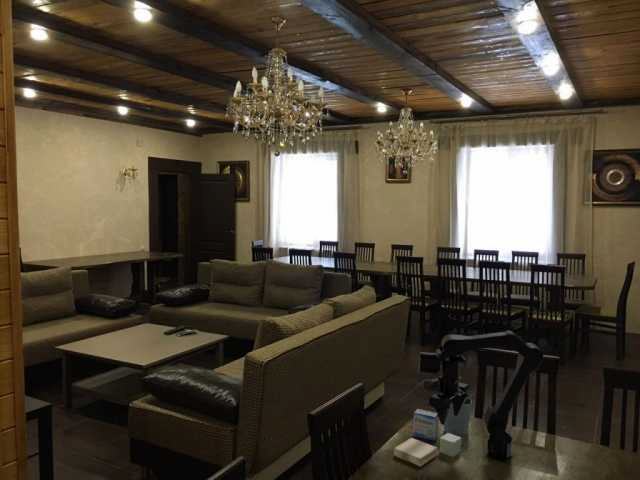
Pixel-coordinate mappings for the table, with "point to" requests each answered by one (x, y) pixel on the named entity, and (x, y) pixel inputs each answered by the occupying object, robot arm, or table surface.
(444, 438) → the green cube
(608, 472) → the table surface
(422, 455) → the birch block
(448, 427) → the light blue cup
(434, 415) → the medicine box
